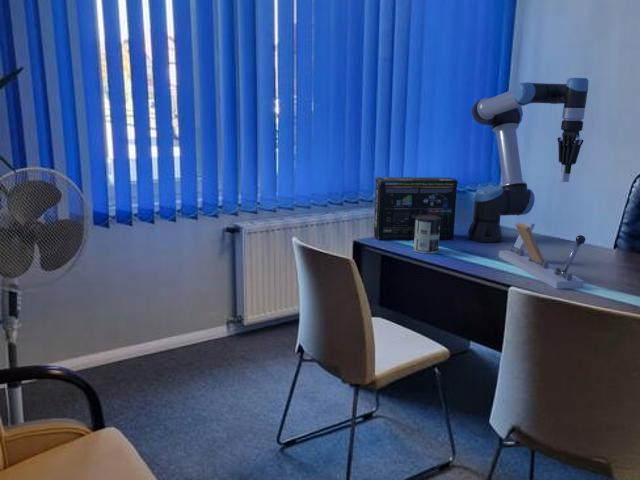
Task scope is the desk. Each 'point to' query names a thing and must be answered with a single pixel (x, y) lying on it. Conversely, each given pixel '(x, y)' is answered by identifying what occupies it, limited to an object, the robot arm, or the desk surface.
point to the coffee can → (427, 234)
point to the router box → (413, 205)
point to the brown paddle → (530, 243)
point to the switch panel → (541, 270)
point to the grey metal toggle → (571, 256)
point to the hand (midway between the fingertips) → (564, 181)
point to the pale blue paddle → (519, 242)
